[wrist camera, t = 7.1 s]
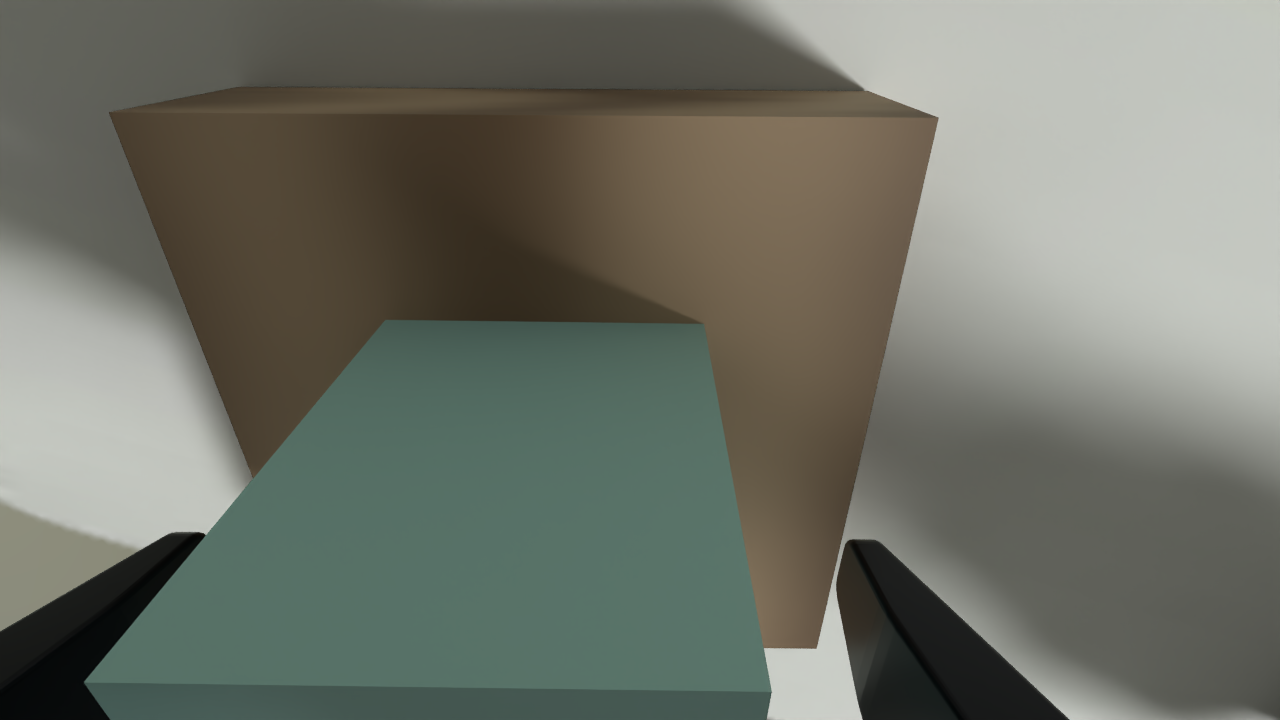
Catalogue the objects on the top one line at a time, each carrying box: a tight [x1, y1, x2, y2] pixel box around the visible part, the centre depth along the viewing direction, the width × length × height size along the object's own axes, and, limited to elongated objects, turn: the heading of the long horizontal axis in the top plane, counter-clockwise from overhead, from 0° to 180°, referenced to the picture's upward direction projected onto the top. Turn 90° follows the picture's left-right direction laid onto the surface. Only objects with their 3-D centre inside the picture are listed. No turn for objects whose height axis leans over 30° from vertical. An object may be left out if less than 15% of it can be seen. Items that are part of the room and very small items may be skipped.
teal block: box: [84, 320, 772, 720], centre depth 8 cm, size 5×5×6 cm
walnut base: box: [109, 87, 938, 649], centre depth 12 cm, size 11×11×3 cm
